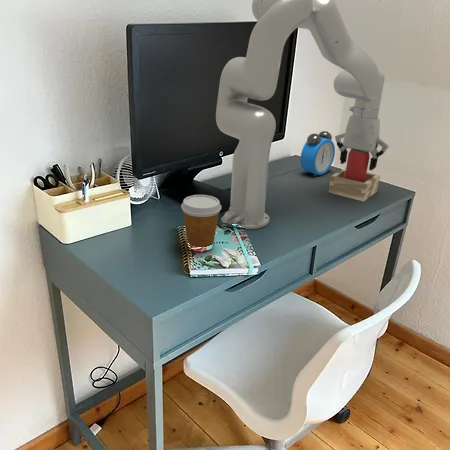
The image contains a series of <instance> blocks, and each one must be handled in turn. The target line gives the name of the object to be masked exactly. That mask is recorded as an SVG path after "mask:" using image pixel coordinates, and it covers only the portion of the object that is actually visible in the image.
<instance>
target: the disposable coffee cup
mask: <svg viewBox="0 0 450 450" xmlns="http://www.w3.org/2000/svg"><path fill="white" fill-rule="evenodd" d="M180 207H181V210H182V212H183V219H184V227H185V236H186V243H187V242H188V243H189V244H190V245H192V246H195V247H207V246H210V245H212V244H213V245H214V243H213V242H215V235H216V232H217V226H218V221H219V215H220V211H221V210H222V205H221V202H220V200H219V199H218V198H217V197H215V196H213V195H207V194H193V195H190V196H189V195H188V196H186V197H185V198H184V199H183V201H182V203H181V205H180Z"/></svg>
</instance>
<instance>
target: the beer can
mask: <svg viewBox="0 0 450 450" xmlns="http://www.w3.org/2000/svg"><path fill="white" fill-rule="evenodd" d="M370 159H371V158H370V152H365V151H360V150H355V149H350V150H349V152H348V153H347V159H346V167H345V168H346V172H345V178H347V179H351V180H355V181H359V182H363V183H365V179H366V173H368V169H369V164H370V163H369V162H370Z"/></svg>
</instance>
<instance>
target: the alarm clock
mask: <svg viewBox="0 0 450 450" xmlns="http://www.w3.org/2000/svg"><path fill="white" fill-rule="evenodd" d="M300 153H301V154H300V166H301V168H302V170H304V172H307V173H310V174H313V177H314V178H315V177H317V176H322V175H324V174H327V172H328V171H329V170H330V168H331V167H332V164H333V162H334V159H335V154H336V147H335V144H334V142H333V135H332V133H330V132H329V131H327V130H324V131H323V130H322V131H319V133H314V132H313V133H311V134H309V135H308V136H307V137H306V142H305V143H304V144H303V147H302V149H301V152H300Z"/></svg>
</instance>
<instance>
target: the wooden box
mask: <svg viewBox="0 0 450 450" xmlns="http://www.w3.org/2000/svg"><path fill="white" fill-rule="evenodd" d="M345 172H346V167H344V168H343V169H341V170H339V171H337V172H336V173H334V174H332V175H330V181H329V186H328V193H329V194H333V195H338V196H341V197H345V198H348V199H353V200H357V201H360V202H363V203H364V202H365V201H367V200H368V199H370V198H371V197H372V196H373V195H374V194H376V193H378V191H379V190H378V189H379V184H380V179H381V175H380V174H379V175H378V174H374V173H370V172H367V173H366V179H365V183H363V182H359V181H355V180H351V179H347V178H345Z"/></svg>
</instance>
